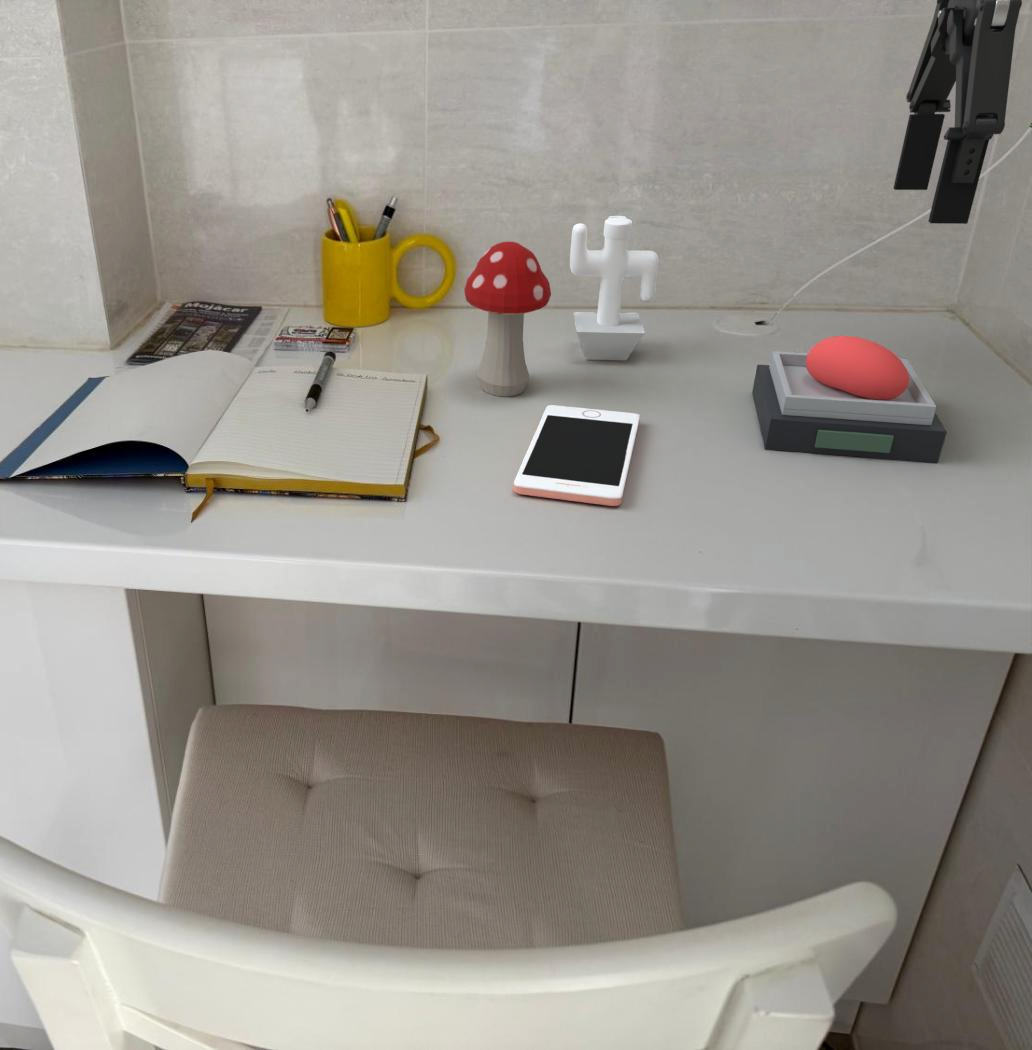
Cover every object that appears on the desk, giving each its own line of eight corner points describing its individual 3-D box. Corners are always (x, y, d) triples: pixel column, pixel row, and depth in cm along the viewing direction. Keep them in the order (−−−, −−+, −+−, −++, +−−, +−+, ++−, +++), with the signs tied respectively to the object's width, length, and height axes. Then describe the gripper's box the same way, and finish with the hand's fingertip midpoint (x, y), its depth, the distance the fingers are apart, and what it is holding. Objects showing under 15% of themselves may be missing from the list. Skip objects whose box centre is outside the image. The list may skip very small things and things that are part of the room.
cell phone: (639, 422, 95) (640, 413, 95) (620, 508, 80) (621, 497, 80) (546, 412, 98) (547, 403, 97) (511, 494, 83) (512, 484, 83)
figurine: (651, 365, 109) (669, 226, 101) (563, 363, 110) (575, 226, 103) (643, 343, 115) (660, 210, 107) (560, 342, 116) (571, 211, 109)
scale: (904, 402, 97) (916, 355, 95) (938, 464, 86) (953, 413, 83) (752, 392, 101) (760, 347, 99) (765, 450, 89) (774, 401, 87)
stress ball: (841, 424, 88) (896, 370, 84) (782, 359, 93) (831, 305, 90) (874, 430, 91) (928, 378, 87) (814, 366, 96) (863, 315, 92)
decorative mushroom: (554, 401, 101) (566, 253, 93) (470, 406, 100) (475, 257, 93) (532, 367, 109) (541, 229, 102) (454, 371, 109) (458, 233, 102)
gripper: (905, -71, 88) (855, 177, 98) (987, -78, 67) (912, 238, 78) (1001, -77, 86) (939, 177, 97) (1115, -85, 65) (1021, 240, 76)
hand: (927, 205), depth 87 cm, fingers open, 13 cm apart
